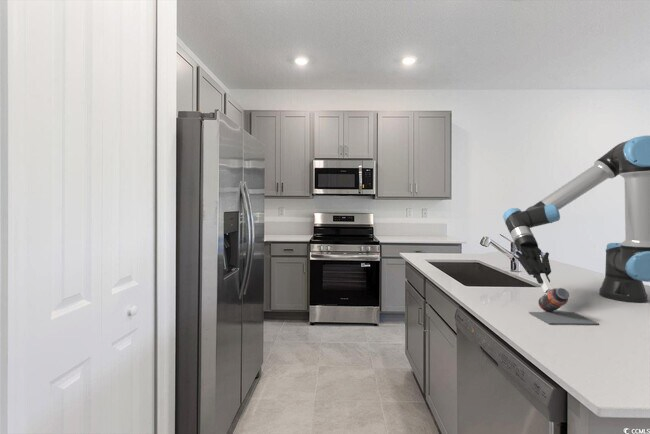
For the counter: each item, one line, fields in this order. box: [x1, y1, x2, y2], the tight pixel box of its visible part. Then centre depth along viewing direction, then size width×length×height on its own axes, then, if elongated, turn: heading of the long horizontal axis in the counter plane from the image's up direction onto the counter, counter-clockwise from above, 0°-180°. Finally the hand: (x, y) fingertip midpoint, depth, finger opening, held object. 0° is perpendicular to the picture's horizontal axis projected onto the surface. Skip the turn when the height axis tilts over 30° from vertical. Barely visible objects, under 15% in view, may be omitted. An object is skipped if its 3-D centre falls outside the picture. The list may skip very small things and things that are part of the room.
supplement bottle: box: [538, 287, 570, 312], centre depth 116 cm, size 6×6×11 cm
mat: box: [528, 311, 600, 326], centre depth 113 cm, size 16×11×1 cm
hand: (548, 290), depth 118 cm, fingers closed
